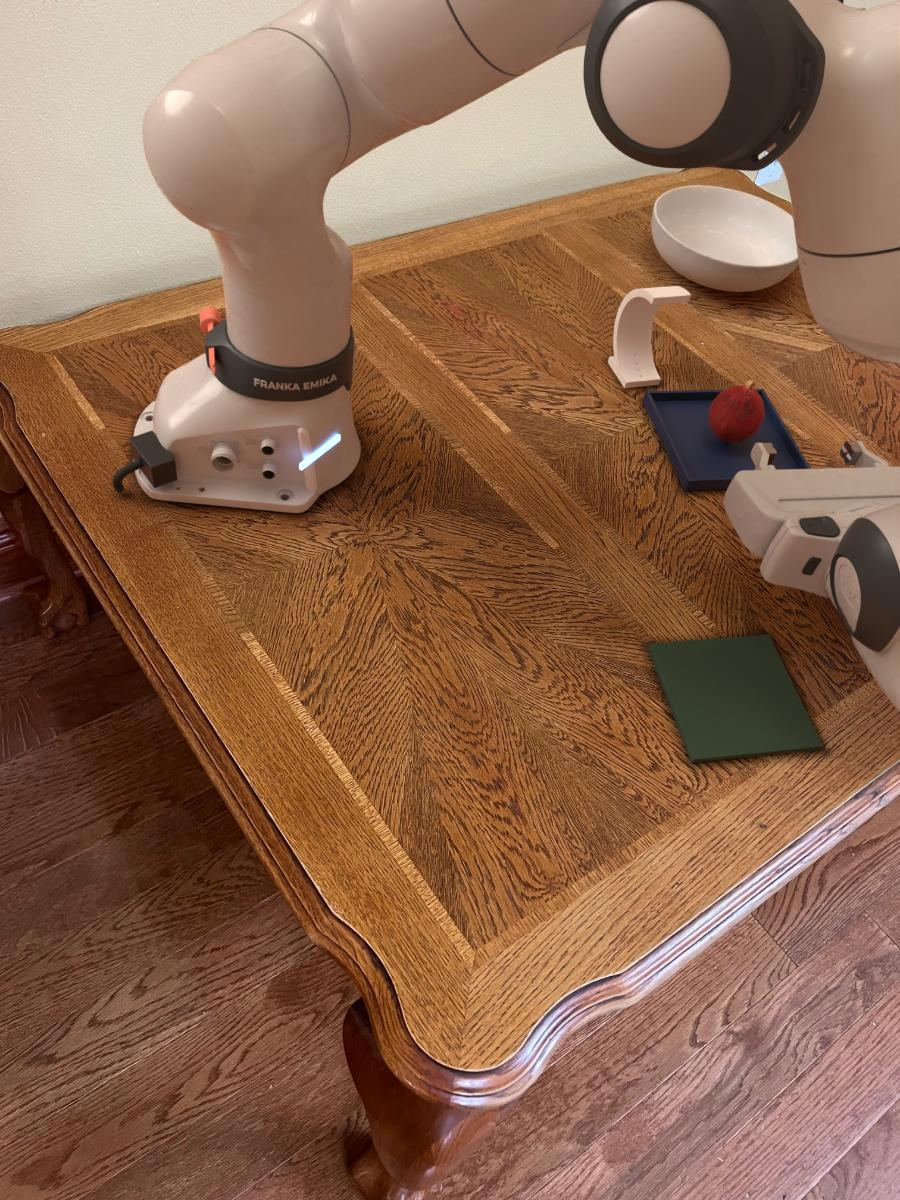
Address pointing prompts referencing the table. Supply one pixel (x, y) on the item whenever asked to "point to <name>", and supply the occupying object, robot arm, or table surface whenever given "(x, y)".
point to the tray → (713, 439)
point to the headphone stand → (639, 334)
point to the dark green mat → (732, 698)
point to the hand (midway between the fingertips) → (804, 446)
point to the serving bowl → (724, 237)
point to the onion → (737, 413)
